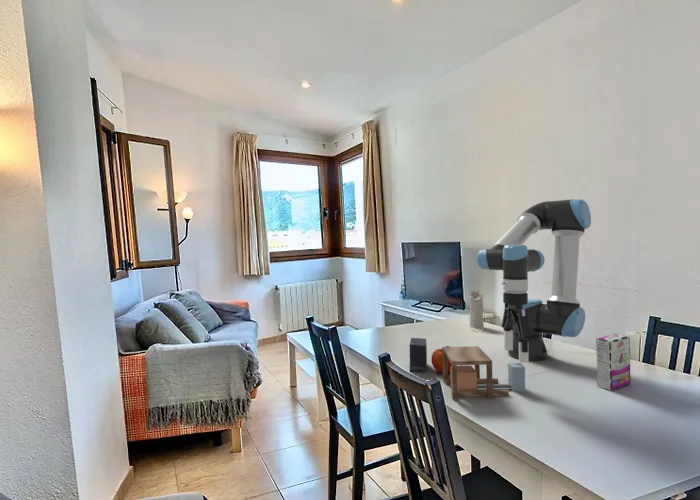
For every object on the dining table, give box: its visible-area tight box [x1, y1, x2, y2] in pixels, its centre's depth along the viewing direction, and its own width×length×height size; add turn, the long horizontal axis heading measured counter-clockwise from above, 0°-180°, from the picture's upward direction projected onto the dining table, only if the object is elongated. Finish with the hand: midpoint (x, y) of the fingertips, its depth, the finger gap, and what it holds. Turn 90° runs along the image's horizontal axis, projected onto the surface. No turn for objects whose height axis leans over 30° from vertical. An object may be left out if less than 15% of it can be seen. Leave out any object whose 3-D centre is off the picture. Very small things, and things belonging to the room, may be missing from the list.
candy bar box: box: [595, 333, 632, 392], centre depth 136 cm, size 11×5×16 cm, turn 117°
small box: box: [409, 337, 428, 373], centre depth 160 cm, size 11×6×10 cm, turn 168°
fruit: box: [430, 345, 451, 374], centre depth 155 cm, size 10×10×10 cm
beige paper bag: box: [468, 290, 486, 333], centre depth 218 cm, size 7×14×20 cm, turn 170°
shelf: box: [442, 345, 510, 400], centre depth 136 cm, size 18×16×12 cm
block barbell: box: [450, 362, 526, 392], centre depth 136 cm, size 23×7×8 cm, turn 88°
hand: (515, 355), depth 135 cm, fingers open, 13 cm apart
